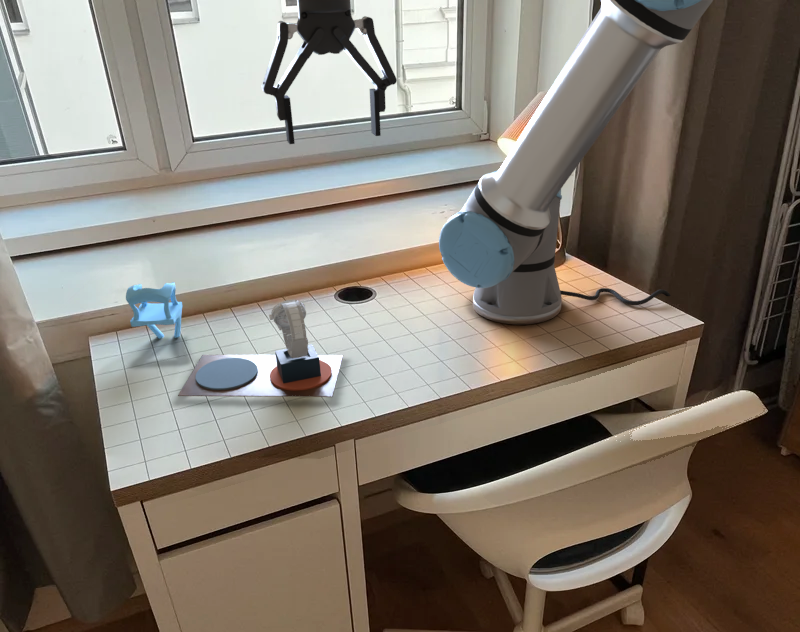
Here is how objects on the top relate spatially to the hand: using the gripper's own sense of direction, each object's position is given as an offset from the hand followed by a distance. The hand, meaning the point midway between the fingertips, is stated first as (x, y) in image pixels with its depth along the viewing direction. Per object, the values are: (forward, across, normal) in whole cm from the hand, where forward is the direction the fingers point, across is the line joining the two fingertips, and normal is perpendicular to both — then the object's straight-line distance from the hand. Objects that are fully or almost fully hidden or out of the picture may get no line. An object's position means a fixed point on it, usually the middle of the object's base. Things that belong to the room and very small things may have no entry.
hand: (334, 138), depth 110 cm
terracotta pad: (+28, +12, +23) cm, 38 cm away
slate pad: (+28, +22, +20) cm, 41 cm away
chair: (+29, +31, +7) cm, 43 cm away
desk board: (+29, +17, +21) cm, 40 cm away
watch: (+27, +12, +23) cm, 38 cm away
